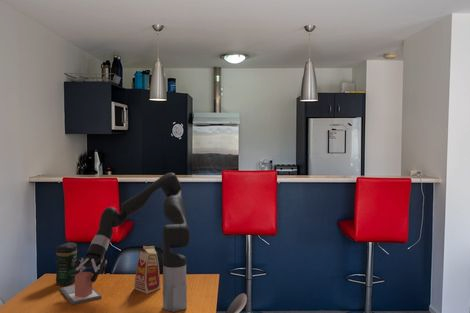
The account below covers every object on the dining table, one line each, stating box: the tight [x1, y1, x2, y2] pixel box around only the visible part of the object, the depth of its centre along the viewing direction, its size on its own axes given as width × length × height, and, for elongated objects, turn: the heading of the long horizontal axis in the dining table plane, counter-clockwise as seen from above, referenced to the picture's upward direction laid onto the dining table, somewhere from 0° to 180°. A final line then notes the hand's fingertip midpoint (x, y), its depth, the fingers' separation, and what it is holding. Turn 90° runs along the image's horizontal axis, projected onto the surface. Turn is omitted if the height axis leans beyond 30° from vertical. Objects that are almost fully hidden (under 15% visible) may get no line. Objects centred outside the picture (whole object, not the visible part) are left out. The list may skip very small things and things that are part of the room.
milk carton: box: [133, 245, 161, 295], centre depth 182 cm, size 9×9×20 cm
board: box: [59, 284, 102, 305], centre depth 175 cm, size 20×12×1 cm, turn 36°
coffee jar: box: [55, 241, 78, 286], centre depth 189 cm, size 10×8×19 cm
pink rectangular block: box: [74, 271, 93, 297], centre depth 171 cm, size 5×5×9 cm
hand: (83, 280), depth 171 cm, fingers open, 8 cm apart
